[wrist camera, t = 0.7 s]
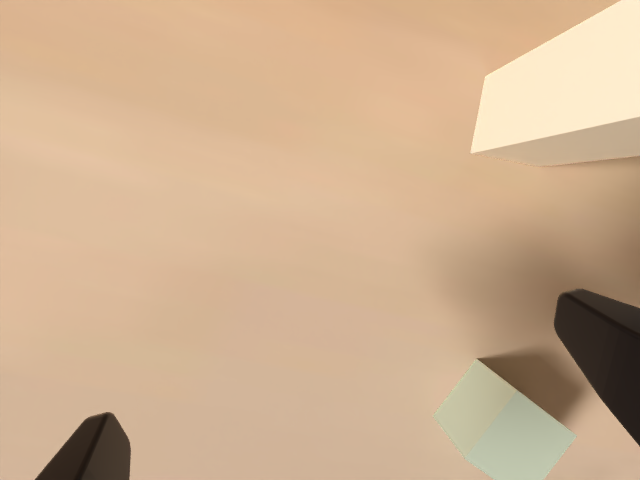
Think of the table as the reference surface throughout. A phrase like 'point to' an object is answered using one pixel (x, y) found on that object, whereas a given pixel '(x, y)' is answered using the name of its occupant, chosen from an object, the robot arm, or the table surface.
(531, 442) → the sage green cube
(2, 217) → the table surface
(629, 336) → the robot arm
